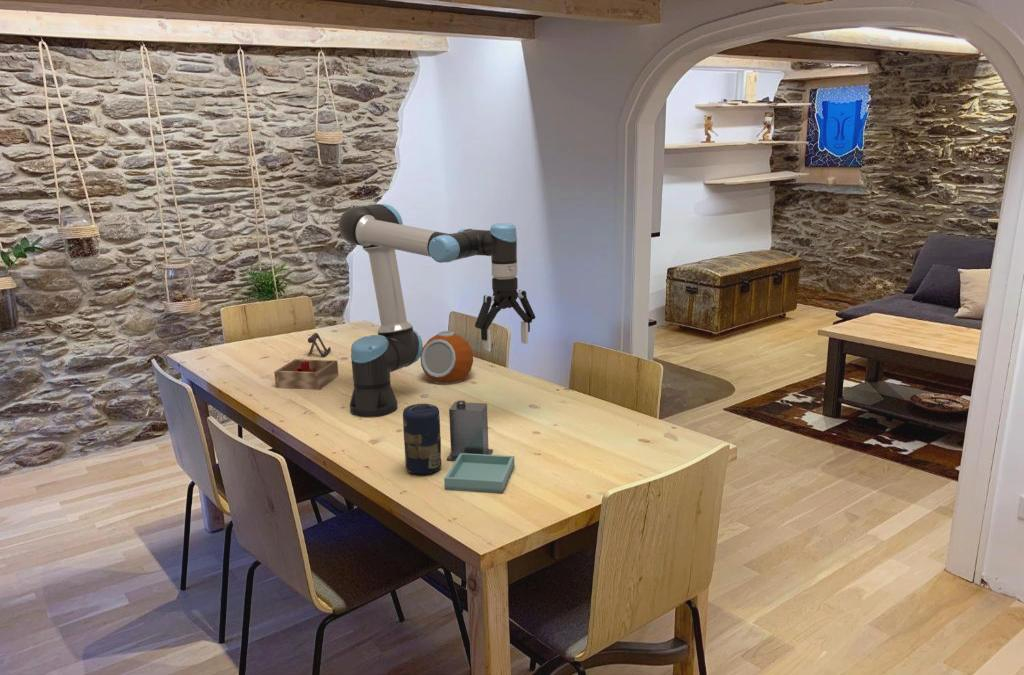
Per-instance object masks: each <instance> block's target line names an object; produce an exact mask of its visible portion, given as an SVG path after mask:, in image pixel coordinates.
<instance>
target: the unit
mask: <svg viewBox="0 0 1024 675" xmlns="http://www.w3.org/2000/svg"><path fill="white" fill-rule="evenodd" d="M448 415H449V416H448V417H449V419H448V420H449V435H450V437H449V438H450V453H449V455H448V456H447V457H446V461H448V462H455V461H456V459H457V457H458V456H459V454H460V453H469V454H486V455H493V451H494V448H493V449H492V448H489V426H488V425H489V424H488V423H489V421H488V403H485V402H484V403H483V402H482V403H481V402H466V401H465V400H457V401H454V402H453V404H452V405H451V406H450V408H449V409H448Z"/></svg>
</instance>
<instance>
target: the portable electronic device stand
mask: <svg viewBox="0 0 1024 675" xmlns="http://www.w3.org/2000/svg"><path fill="white" fill-rule="evenodd" d="M317 339H318V341H319V342H320V345H321V346H322V348H323V350H324V352H322V350H321V348H320V347H319V345H318V343H317ZM307 342H308V343H309V344H311V347H310V349H309V352H308V355H307V356H308V357H309V356H310V355H311V354H312V353H313V350H314V348H316V350H317V351H318V353H319V355H320V357H322V358H326V356H327V355H329V353H330V352H331V351H332V348H331V346H329V347H328V348H326V346H325V344H324V341H323V340H322V338H321V337H320V335H319V333H318V332H314V333H313V334H312V335H311V336H309V337H308V339H307Z"/></svg>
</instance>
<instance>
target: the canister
mask: <svg viewBox="0 0 1024 675" xmlns="http://www.w3.org/2000/svg"><path fill="white" fill-rule="evenodd" d="M402 427H403V429H402V430H403V444H404V459H405V460H404V462H405V463H404V464H405V468H406V470H407V471H408V472H410V473H412V474H416V475H427V474H431V473H434V472H437V471H438V470H439V469H440V468H441V467H442V456H441V455H442V440H441V438H442V437H441V418H440V409H439V407H437V406H436V405H435V404H431V403H416V404H412V405H408V406H407V407H405V408H404V409H403V411H402Z"/></svg>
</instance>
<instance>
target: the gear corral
mask: <svg viewBox="0 0 1024 675" xmlns="http://www.w3.org/2000/svg"><path fill="white" fill-rule="evenodd" d="M303 361H305V359H303V358H302V359H299V358H296V359H293V360H291V361H290V362H287V363H286V364H285V365H283V366H281V367H279V368H278V369H276V370H275V371H274V382H275V388H277V389H296V390H299V389H301V390H322V389H323V388H324V387H326V386H327V385H329V384H330V383H331V382H333V381H334V380H335V379H337V378H338V377H339V376H340V375H339V364H338V360H335V359H334V360H332V359H331V360H328V359H327V360H326V359H325V360H324V359H306V361H309V369H310V370H311V371H312V372H299V371H292V370H293V368H294V367H300V368H301V362H303ZM313 366H314V367H313ZM315 366H316V367H315ZM313 368H316V369H315V372H313Z"/></svg>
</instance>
